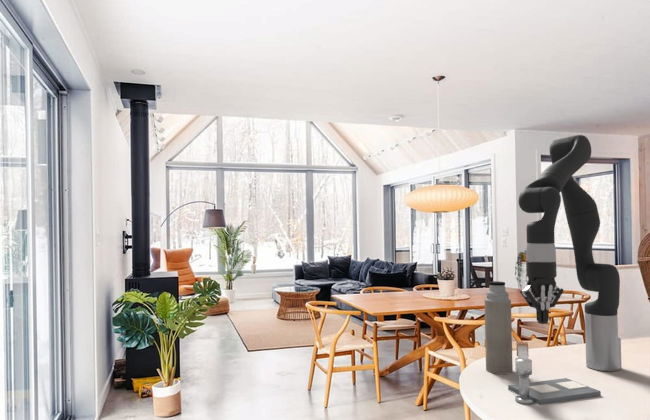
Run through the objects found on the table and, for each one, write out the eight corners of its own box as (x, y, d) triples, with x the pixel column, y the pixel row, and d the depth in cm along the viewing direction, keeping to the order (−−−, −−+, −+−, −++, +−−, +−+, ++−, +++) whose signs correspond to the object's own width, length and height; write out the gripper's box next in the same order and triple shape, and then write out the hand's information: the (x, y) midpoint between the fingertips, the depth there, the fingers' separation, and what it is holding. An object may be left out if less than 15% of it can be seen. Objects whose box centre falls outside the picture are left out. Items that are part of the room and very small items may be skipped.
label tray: (566, 382, 141) (566, 376, 141) (600, 395, 129) (600, 390, 129) (508, 389, 135) (508, 384, 135) (539, 404, 123) (538, 398, 123)
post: (525, 397, 128) (525, 371, 129) (537, 403, 124) (536, 376, 124) (511, 399, 127) (511, 373, 127) (523, 405, 123) (522, 378, 123)
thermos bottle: (510, 367, 156) (508, 280, 157) (514, 374, 148) (512, 283, 149) (484, 366, 157) (482, 280, 158) (487, 373, 150) (485, 282, 151)
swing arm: (532, 376, 123) (532, 361, 123) (515, 375, 125) (515, 360, 125) (529, 355, 144) (529, 342, 144) (515, 354, 145) (515, 341, 145)
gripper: (550, 258, 138) (552, 319, 137) (511, 259, 134) (513, 322, 133) (571, 260, 131) (572, 324, 130) (530, 261, 127) (532, 327, 126)
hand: (542, 323), depth 132 cm, fingers closed
